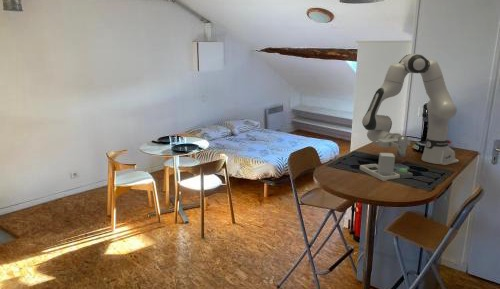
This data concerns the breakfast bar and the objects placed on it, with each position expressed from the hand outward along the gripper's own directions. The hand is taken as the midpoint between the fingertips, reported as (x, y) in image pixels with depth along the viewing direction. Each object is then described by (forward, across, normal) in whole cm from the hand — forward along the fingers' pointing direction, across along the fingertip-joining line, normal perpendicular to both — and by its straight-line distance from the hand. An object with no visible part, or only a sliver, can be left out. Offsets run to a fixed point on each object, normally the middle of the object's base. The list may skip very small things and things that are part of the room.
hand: (403, 145), depth 223 cm
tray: (-1, -1, +15) cm, 15 cm away
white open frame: (+3, -18, +14) cm, 23 cm away
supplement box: (+8, -18, +14) cm, 24 cm away
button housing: (+11, -9, +14) cm, 20 cm away
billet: (-1, 0, +6) cm, 7 cm away
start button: (+11, -9, +14) cm, 20 cm away
